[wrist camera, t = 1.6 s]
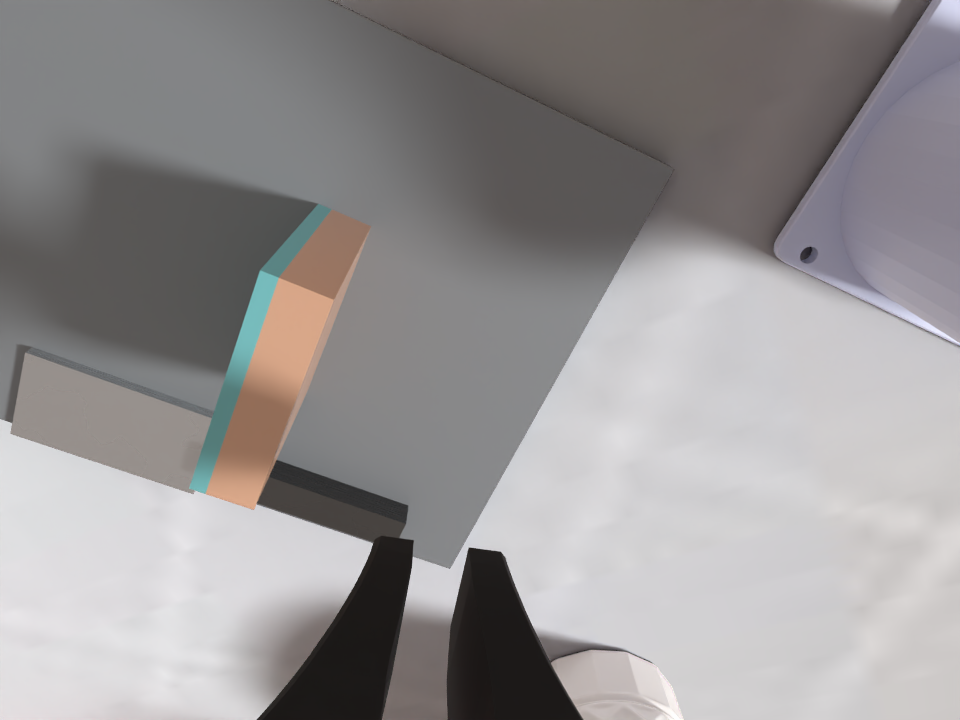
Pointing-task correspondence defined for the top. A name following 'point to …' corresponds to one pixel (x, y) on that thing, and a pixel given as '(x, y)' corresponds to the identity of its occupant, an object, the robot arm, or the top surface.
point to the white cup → (616, 686)
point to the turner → (171, 443)
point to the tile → (277, 354)
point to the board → (285, 205)
